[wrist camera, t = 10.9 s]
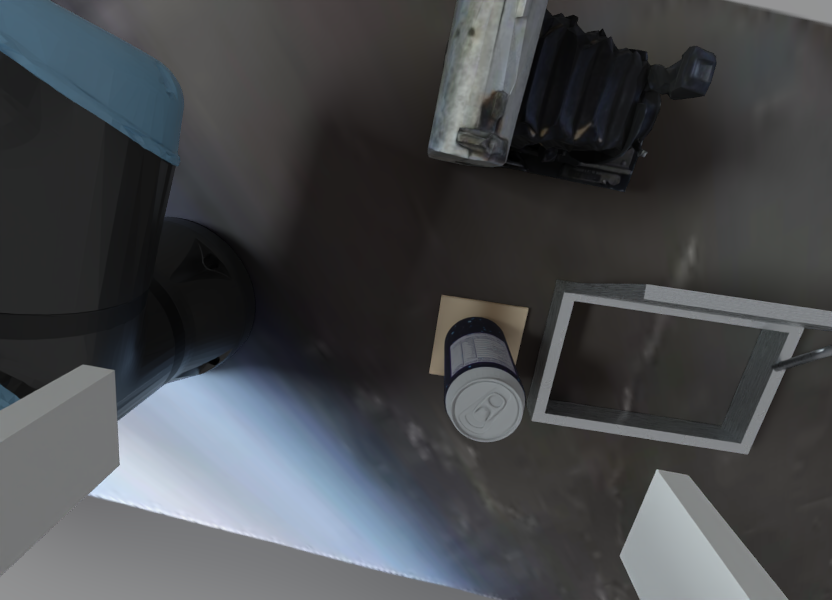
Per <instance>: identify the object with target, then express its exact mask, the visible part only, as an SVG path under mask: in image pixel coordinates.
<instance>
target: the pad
mask: <svg viewBox="0 0 832 600" xmlns="http://www.w3.org/2000/svg"><path fill="white" fill-rule="evenodd" d="M527 313H528V307H521V306H515V305H508V304H501V303H495V302H488V301H481V300H474V299H468V298H461V297H454V296H448V295H442V296H441V302H440V309H439V315H438V321H437V327H436V333H435V340H434V346H433V352H432V358H431V364H430V370H429V374H436V375H442V376H444V342H445V338H446V335H447V333H448V331H449V330H450V328H451V327H452V326H453V325H454V324H455V323H457V322H458V321H460V320H462V319H465V318H468V317H483V318H486V319H489V320H491V321H493V322H494V323H496V324H497V325H498V326H499V327H500V328H501V330H502V331H503V333H504V335H505V338H506V341H507V344H508V347H509V349H510V352H511V355H512V358H513V360H514V363H515V365H516V361H517V357H518V352H519V348H520V343H521V339H522V335H523V330H524V326H525V322H526V317H527Z"/></svg>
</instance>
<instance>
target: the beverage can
mask: <svg viewBox="0 0 832 600" xmlns="http://www.w3.org/2000/svg"><path fill="white" fill-rule="evenodd" d="M444 404H445V409H446V412H447V414H448V416H449V418H450V419H451V421H452V422H453V424H454V426H455V427H456V428H457V430H458V431H459V432H460V433H461V434H463V435H464V436H466V437H468V438H470V439H472V440H475V441H479V442H494V441H498V440H501V439H503V438H505V437H507V436H509V435H510V434H511V433H513V432H514V431H515V430H516V428H517V427H518V426H519V424H520V422H521V420H522V416H523V412H524V409H525V404H526V396H525V391H524V388H523V385H522V383H521V380H520V377H519V374H518V372H517V369H516V366H515V363H514V360H513V358H512V355H511V352H510V349H509V347H508V344H507V341H506V338H505V335H504V333H503V331H502V330H501V328H500V327H499V326H498V325H497V324H496V323H494V322H493V321H491V320H489V319H486V318H483V317H468V318H465V319H462V320H460V321H458V322H457V323H455V324H454V325H453V326H452V327H451V328H450V330H449V331H448V333H447V335H446V338H445V342H444Z"/></svg>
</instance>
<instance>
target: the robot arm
mask: <svg viewBox="0 0 832 600" xmlns="http://www.w3.org/2000/svg"><path fill="white" fill-rule="evenodd" d="M183 110H184V97H183V92H182V89H181V87H180V84H179V83H178V81H177V79H176V78H175V76H174V75H173V73H172V72H171V71H170V70H169V69H168V68H167V67H166V66H165V65H164V64H162V63H161V62H160V61H158V60H157V59H155V58H153V57H152V56H150V55H148V54H147V53H145V52H143V51H141V50H140V49H138V48H136V47H134V46H132V45H131V44H129V43H127V42H125V41H123V40H122V39H120V38H118V37H116V36H114V35H113V34H111V33H109V32H107V31H105V30H103V29H102V28H100V27H98V26H96V25H94V24H92V23H90V22H89V21H87V20H85V19H83V18H81V17H79V16H78V15H76V14H74V13H72V12H70V11H68V10H66V9H65V8H63V7H61V6H59V5H57V4H55V3H53V2H52V1H50V0H0V576H1V575H3V574H4V573H5V572H6V571H7V570H8V569H9V568H10V567H11V566H12V565H13V564H14V563H15V562H17V561H18V560H19V559H20V558H21V557H22V556H23V555H24V554H25V553H26V552H27V551H28V550H29V549H30V548H31V547H33V545H35V544H36V543H37V542H38V541H39V540H40V539H41V538H42V537H43V536H44V535H45V534H46V533H47V532H49V530H51V529H52V528H53V527H54V526H55V525H56V524H57V523H58V522H59V521H60V520H61V519H62V518H63V517H65V516H66V515H67V514H68V513H69V512H70V511H71V510H72V509H73V508H74V507H75V506H76V505H77V504H78V503H79V502H81V501H82V500H83V499H84V498H85V497H86V496H87V495H88V494H89V493H90V492H91V491H92V490H93V489H94V488H96V487H97V486H98V485H99V484H100V483H101V482H102V481H103V480H104V479H105V478H106V477H107V476H108V475H109V474H110V473H112V472H113V471H114V470H115V469H116V468H117V467H118V466H119V465H120V463H119V443H118V424H117V421H118V420H120V419H121V418H122V417H124V416H125V415H126V414H127V413H129V412H130V411H131V410H132V409H134V408H135V407H136V406H138V405H139V404H140V403H141V402H143V401H144V400H145V399H147V398H148V397H149V396H150V395H152V394H153V393H154V392H155V391H157V390H158V389H159V388H160V387H162V386H163V385H164V384H166V383H170V382H174V381H177V380H181V379H185V378H188V377H192V376H196V375H199V374H202V373H205V372H208V371H210V370H212V369H214V368H216V367H218V366H219V365H221V364H222V363H223V362H225V361H226V360H227V359H228V358H229V357H231V356H232V355H233V354H234V353H235V352H236V351H237V350H238V349H239V348H240V347H241V346H242V345H243V343H244V342H245V341H246V339H247V337H248V335H249V333H250V331H251V329H252V325H253V322H254V316H255V296H254V290H253V286H252V283H251V280H250V277H249V275H248V273H247V271H246V269H245V267H244V265H243V263H242V262H241V260H240V259H239V257H238V256H237V255H236V253H235V252H234V251H233V250H232V249H231V247H230V246H229V245H228V244H227V243H226V242H224V241H223V240H222V239H221V238H220V237H218V236H217V235H216V234H214V233H213V232H211V231H210V230H208V229H206V228H205V227H203V226H201V225H199V224H196V223H194V222H191V221H188V220H184V219H180V218H174V217H164V216H165V212H166V207H167V203H168V198H169V194H170V189H171V185H172V180H173V176H174V171H175V167H176V166H179V163H180V157H179V155H178V146H179V138H180V130H181V123H182V116H183ZM620 558H621V560H622V562H623V564H624V566H625V568H626V571H627V573H628V575H629V577H630V579H631V581H632V584H633V586H634V588H635V590H636V592H637V594H638V597H639V599H640V600H788V598H787V597H786V596H785V595H784V594H783V592H782V591H781V590H780V589H779V587H778V586H777V585H776V584H775V582H774V581H773V580H772V579H771V577H770V576H769V575H768V574H767V572H766V571H765V570H764V569H763V567H762V566H761V565H760V564H759V562H758V561H757V560H756V559H755V557H754V556H753V555H752V554H751V552H750V551H749V550H748V549H747V547H746V546H745V545H744V544H743V543H742V541H741V540H740V539H739V538H738V536H737V535H736V534H735V533H734V531H733V530H732V529H731V528H730V526H729V525H728V524H727V523H726V521H725V520H724V519H723V518H722V516H721V515H720V514H719V513H718V511H717V510H716V509H715V508H714V506H713V505H712V504H711V503H710V501H709V500H708V499H707V498H706V496H705V495H704V494H703V493H702V492H701V490H700V489H699V488H698V487H697V485H696V484H695V483H694V482H693V480H692V479H691V478H690V477H689V475H685V474H680V473H674V472H669V471H663V470H658V469H657V470H656V472H655V475H654V477H653V479H652V482H651V484H650V486H649V489H648V491H647V493H646V496H645V498H644V500H643V503H642V505H641V507H640V510H639V512H638V514H637V517H636V519H635V521H634V524H633V526H632V528H631V531H630V533H629V535H628V538H627V540H626V542H625V545H624V547H623V549H622V552H621V554H620Z"/></svg>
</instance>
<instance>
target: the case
mask: <svg viewBox="0 0 832 600" xmlns="http://www.w3.org/2000/svg"><path fill="white" fill-rule="evenodd" d="M574 301H578V302H585V303H592V304H599V305H605V306H612V307H619V308H625V309H632V310H639V311H646V312H652V313H659V314H666V315H673V316H679V317H686V318H693V319H700V320H706V321H713V322H720V323H727V324H733V325H740V326H747V327H753V328H760V329H762V330H761V333H760V335H759V337H758V340H757V342H756V345H755V347H754V349H753V352H752V354H751V357H750V359H749V361H748V364H747V366H746V369H745V371H744V373H743V376H742V378H741V381H740V383H739V386H738V388H737V390H736V393H735V395H734V398H733V400H732V402H731V405H730V407H729V410H728V412H727V414H726V417H725V419H724V422H723V424H722V426H720V425H713V424H707V423H700V422H694V421H687V420H681V419H674V418H668V417H661V416H655V415H648V414H642V413H635V412H629V411H622V410H616V409H609V408H603V407H596V406H590V405H583V404H577V403H570V402H564V401H557V400H551V399H549V395H550V391H551V387H552V384H553V380H554V376H555V372H556V369H557V365H558V361H559V357H560V353H561V350H562V346H563V342H564V338H565V334H566V331H567V327H568V323H569V319H570V315H571V312H572V308H573V304H574ZM804 328H807V329H815V330H823V331H831V332H832V311H826V310H819V309H812V308H805V307H799V306H792V305H785V304H778V303H771V302H765V301H758V300H751V299H744V298H737V297H731V296H724V295H717V294H710V293H703V292H697V291H690V290H683V289H676V288H669V287H663V286H656V285H649V284H594V283H578V282H571V281H564V280H557V281H556V285H555V289H554V293H553V297H552V301H551V306H550V310H549V314H548V318H547V322H546V326H545V330H544V334H543V338H542V342H541V346H540V350H539V354H538V358H537V362H536V366H535V371H534V375H533V379H532V383H531V387H530V391H529V395H528V399H527V403H526V406H527V409H528V412H529V415H530V418H531V421H535V422H542V423H548V424H555V425H561V426H568V427H574V428H580V429H587V430H593V431H600V432H606V433H613V434H619V435H626V436H632V437H639V438H645V439H651V440H658V441H664V442H671V443H677V444H684V445H690V446H697V447H703V448H710V449H716V450H723V451H729V452H735V453H742V454H748V453H749V451H750V448H751V446H752V444H753V442H754V439H755V437H756V435H757V433H758V431H759V428H760V426H761V424H762V422H763V419H764V417H765V415H766V413H767V410H768V408H769V406H770V404H771V402H772V399H773V397H774V395H775V393H776V390H777V388H778V386H779V384H780V381H781V379H782V377H783V375H784V373H785V370H786V369H788V368H792V367H795V366H798V365H802V364H805V363H808V362H812V361H815V360H818V359H821V358H825V357H828V356H831V355H832V345H830V346H827V347H824V348H821V349H818V350H814V351H811V352H808V353H805V354H802V355H799V356H796V357H793V358H791V357H792V355H793V352H794V350H795V348H796V346H797V344H798V341H799V339H800V337H801V335H802V332H803V330H804Z"/></svg>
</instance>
